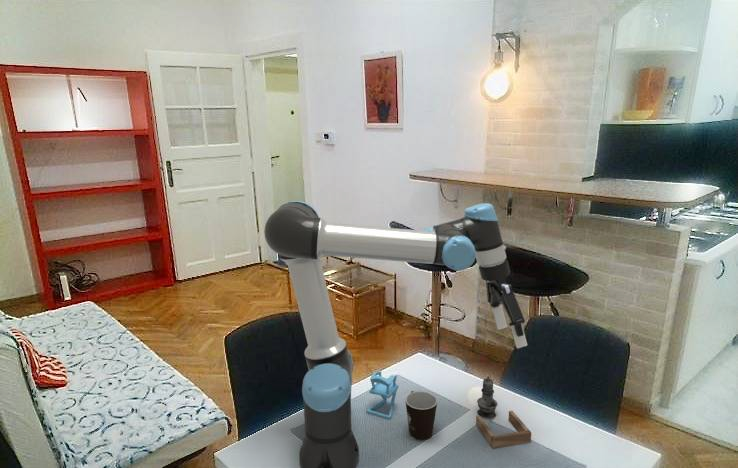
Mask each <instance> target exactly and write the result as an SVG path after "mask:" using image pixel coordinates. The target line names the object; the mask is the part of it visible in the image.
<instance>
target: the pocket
mask: <svg viewBox="0 0 738 468" xmlns="http://www.w3.org/2000/svg"><path fill="white" fill-rule="evenodd" d="M508 422H509V423H510V424H511V425H512V426H513V428H514V429H515V430H516V432H510V433H502V434H494V433H493V431H492V430H491V428H490V427H489V426H488V425H487V423H486V422H485V420H484V418H482V417H480V415H475V426H476V428H477V430H478V431H479V432H480V433H481V434H482V436H483V437H484V439H485V440H486V442H487V444H488V445H489V446H490V447H491V448H492V449H493V450H494V449H498V448H499V449H500V448H505V447H512V446H518V445H524V444H529V443H531V442H532V432H531V430H530V429H529V428H528V426H526V424H525V423H524V421H522V420H521V419H520V417H518V415H517V414H516V413H515V412H514V410H509V411H508Z"/></svg>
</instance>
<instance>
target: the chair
mask: <svg viewBox="0 0 738 468" xmlns="http://www.w3.org/2000/svg"><path fill="white" fill-rule="evenodd" d="M397 377H398V374H394V375H393V374H392V375H389V377H387V378H386V377H383V376H382V370H378V371H374V372H373V373H372V374H371V376H370V378H369V379H370V383H371V388H370V389H369V394H372V395H376V396H377V395H378V396H381V398H382V400H380V401H379V402H377V403H375V404H374V405H372V406H370V407H369V408H367V409H366V413H367V414H369V415H372V416H376V417H378V418H382V419H385V420H389V421H390V420H392V416H393V411H394V406H395V403H396V402H395V401H396V396H397V392H398V389H399V384H396V382H397ZM390 398H391V400H390V405H389V412H388V414H384V413H382V412H381V413H380V412H378V411H375V410H376V409H378V408H380V407H382V406H384V405H385V404H386V403H388V399H390Z"/></svg>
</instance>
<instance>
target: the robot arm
mask: <svg viewBox="0 0 738 468" xmlns="http://www.w3.org/2000/svg"><path fill="white" fill-rule="evenodd" d="M263 233H264V238H265V241H266V243H267V245H268V247H269V248H270V250H272V251H273V252H274V253H276V254H278V257H279V260H280V261H282V262H284V263H286V264H287V268H288V272H289V276H290V279H291V283H292V289H293V292H294V295H295V299H296V303H297V307H298V311H299V315H300V320H301V322H302V326H303V327H302V328H303V330H304V335H305V338H306V342H307V346H306V348H305V350H304V357H305V361H306V365H307V369H308V371H307V372H306V374H305V375H304V377H303V379H302V385H301V386H302V387H301V394H302V398H303V419H304V422H303V423H304V437H303V440H302V443H301V445H300V449H299V453H298V455H299V456H298V457H299V458H298V459H299V461H298V462H299V467H300V468H356V467H357V466H358V464H359V461H360V449H359V444H358V442H357V439H356V438H355V435H354V432H353V430H352V429H353V428H352V383H353V381H352V380H353V371H354V362H353V358H352V355H351V353H350V351H349V349H348V347H347V342H346V341H345V339H344V338H341V337H340V335H339V333H338V327H337V324H336V319H335V317H334V316H335V315H334V312H333V307H332V303H331V299H330V298H331V297H330V295H329V291H328V286H327V283H326V278H325V274H324V270H323V265H322V262H321V259H322V258H323V257H326V256H327V257H340V258H351V259H363V260H364V259H367V260H375V261H376V260H378V261H390V262H401V263H402V262H403V263H404V262H405V263H407V262H408V263H416V264H417V263H419V264H428V265H430V264H431V265H439V266H446V267H447V268H449V269H451V270H453V271H458V272H459V271H465V270H467V269H468V268H470V267H471V266H472V265H473V263H474V262H475V260H476V263H477V265H479V266H478V270H479V273H480V278H481V279H482V280H483V281H485V286H486V294H487V295H486V297H487V303H488V304H489V305H490V307H491V308H492V313H493V317H494V321H495V325H496V328H497V330H498V331H500V330H503V329H506V328H508V325H509V326H510V328H511V333H512V336H513V340H514V344H515V347H516V349H522V348H523V347H527V346H528V342H527V338H526V334H525V330H524V325H523V324H524V323H525V322H526V319H525V318H524V316H523V312H522V311H521V308H520V305H519V303H518V300H517V297H516V295H515V293H514V290H513V286H512V284H511V283H508V282H507V281H506V278H507V277H508V276H510V274H511V269H510V265H509V260H507V253H506V250H507V246H506V245H504V242H503V238H502V234H501V229H500V225H499V219H498V217H497V213H496V211H495V207H494V205H493V204H491V203H487V202H486V203H485V202H484V203H478V204H475V205H472V206H470V207H467V208H465V209H464V216H463V217H461V218H458V219H455V220H451V221H448V222H444V223H441V224H437V225H432V226H430V227H428V228H424V229H423V230H419V229H410V228H409V229H408V228H407V229H406V228H396V227H395V228H393V227H382V226H381V227H380V226H372V225H371V226H370V225H358V224H349V223H348V224H345V223H333V222H327V221H326V220H325V219H324V218H323V217H319V215H318V213H317V211H316V210H315V208H314V207H313V206H311V205H310V204H309V203H307V202H304V201H301V200H294V201H289V202H286V203H283V204H281V205H280V206H279V207H278V208H277V209H276V211H274V212H273V213H271V214H270V216H269V217H268V219H266V223H265V225H264V232H263ZM503 308H504V309H503ZM504 310H505V311H504ZM504 312H506V315H507V316H508V319H509V321H510V322H509V324H507V320H506V317H505V316H506V315H505V313H504Z"/></svg>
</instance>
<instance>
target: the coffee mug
mask: <svg viewBox="0 0 738 468" xmlns="http://www.w3.org/2000/svg"><path fill="white" fill-rule="evenodd" d="M404 400H405V408H406V415H407V424H408V432H409V435H410V437H411V438H413V439H414V440H417V441H427V440H429V439H431V438H432V436H433V433H434V425H435V420H436V413H437V407H438V405H437V404H438V399H437V397H436V396H435V395H434V394H432V393H431V392H428V391H421V390H418V391H412V390H411V392H409V393H408V394H407V395H406V396H405V399H404Z"/></svg>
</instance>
